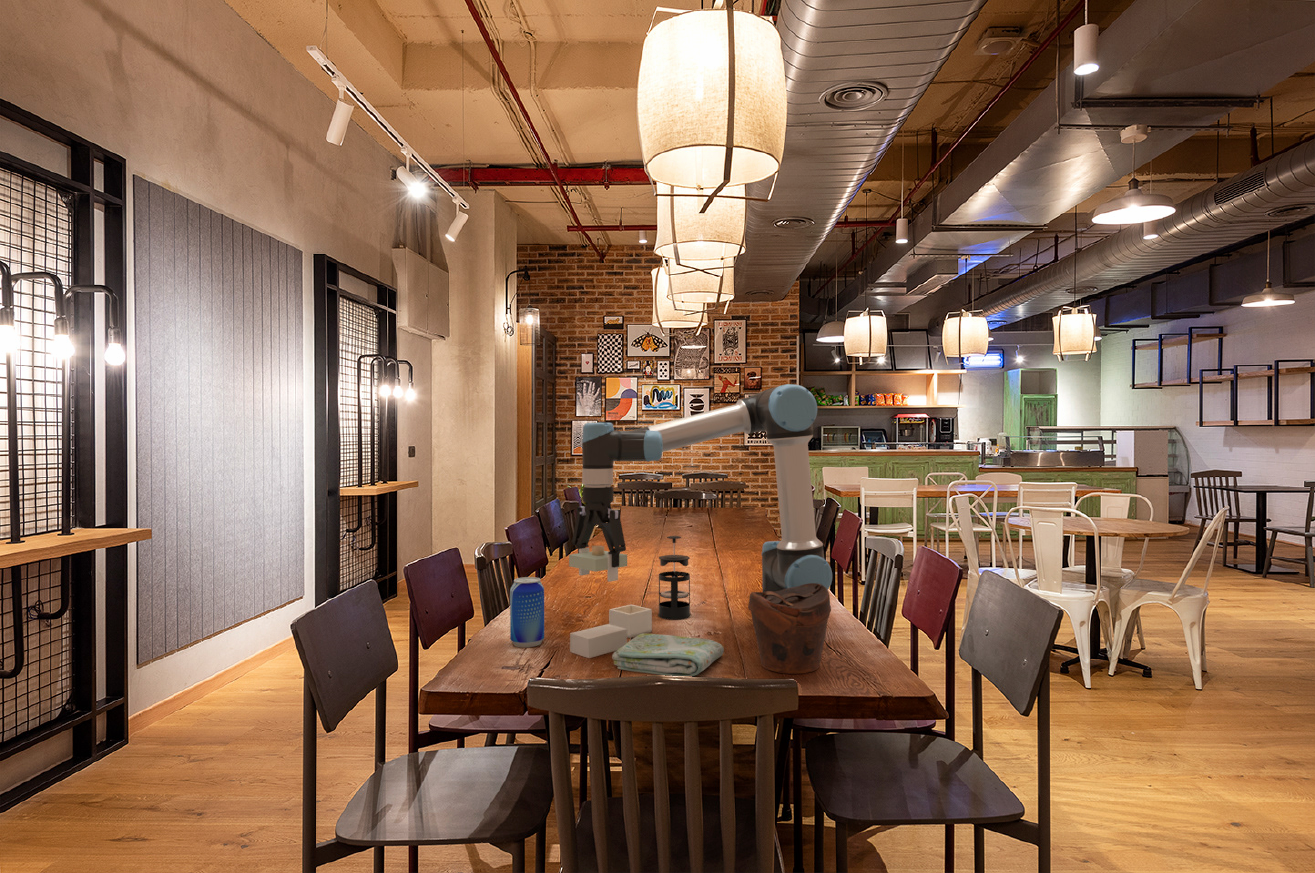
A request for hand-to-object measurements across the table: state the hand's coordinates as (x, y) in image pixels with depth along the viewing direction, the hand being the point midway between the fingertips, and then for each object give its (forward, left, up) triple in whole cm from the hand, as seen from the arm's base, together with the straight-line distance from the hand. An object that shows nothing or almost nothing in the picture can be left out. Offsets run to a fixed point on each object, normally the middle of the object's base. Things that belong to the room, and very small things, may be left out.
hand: (598, 577), depth 173 cm
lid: (0, 0, +3) cm, 3 cm away
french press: (+10, -37, -18) cm, 42 cm away
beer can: (+17, +9, -18) cm, 26 cm away
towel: (-19, -5, -18) cm, 27 cm away
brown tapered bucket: (-40, -22, -18) cm, 49 cm away
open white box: (+6, -16, -18) cm, 24 cm away
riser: (0, 0, -18) cm, 18 cm away
